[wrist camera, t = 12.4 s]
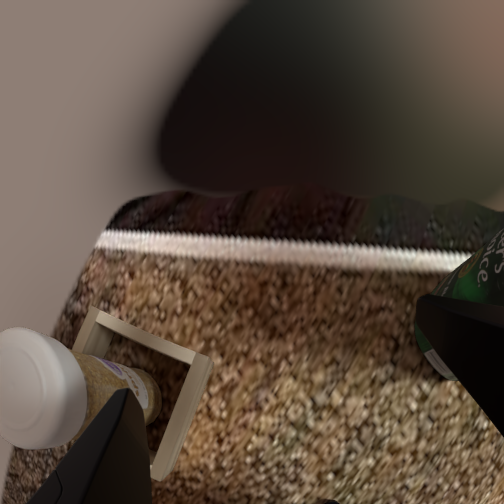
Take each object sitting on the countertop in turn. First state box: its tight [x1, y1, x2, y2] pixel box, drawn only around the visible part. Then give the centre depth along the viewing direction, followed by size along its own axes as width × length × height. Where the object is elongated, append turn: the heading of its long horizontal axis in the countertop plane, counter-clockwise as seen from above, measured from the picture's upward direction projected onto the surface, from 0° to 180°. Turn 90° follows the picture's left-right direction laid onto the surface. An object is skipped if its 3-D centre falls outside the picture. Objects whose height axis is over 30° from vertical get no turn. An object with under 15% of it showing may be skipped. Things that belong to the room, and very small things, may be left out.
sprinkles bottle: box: [0, 327, 162, 449], centre depth 14 cm, size 5×5×13 cm
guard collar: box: [72, 306, 214, 482], centre depth 19 cm, size 9×9×4 cm
